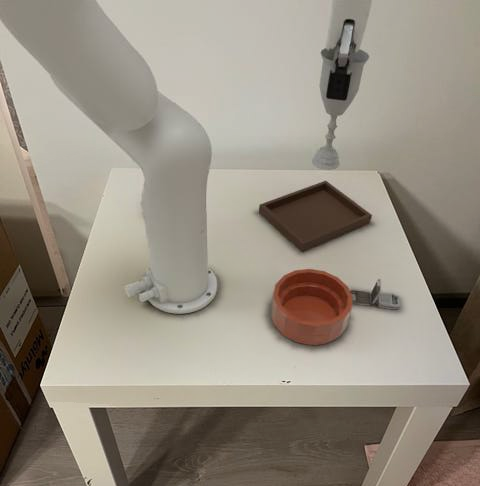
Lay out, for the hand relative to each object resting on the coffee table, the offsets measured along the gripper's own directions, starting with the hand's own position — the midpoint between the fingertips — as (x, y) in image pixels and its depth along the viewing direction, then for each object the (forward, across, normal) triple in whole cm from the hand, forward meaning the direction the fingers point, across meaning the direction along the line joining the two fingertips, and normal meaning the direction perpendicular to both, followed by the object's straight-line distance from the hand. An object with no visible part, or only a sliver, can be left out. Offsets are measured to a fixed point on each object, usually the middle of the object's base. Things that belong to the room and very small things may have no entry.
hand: (338, 88), depth 77 cm
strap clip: (+28, +18, +13) cm, 35 cm away
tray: (+28, -3, 0) cm, 28 cm away
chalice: (+13, 0, 0) cm, 13 cm away
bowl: (+27, +24, +2) cm, 37 cm away
